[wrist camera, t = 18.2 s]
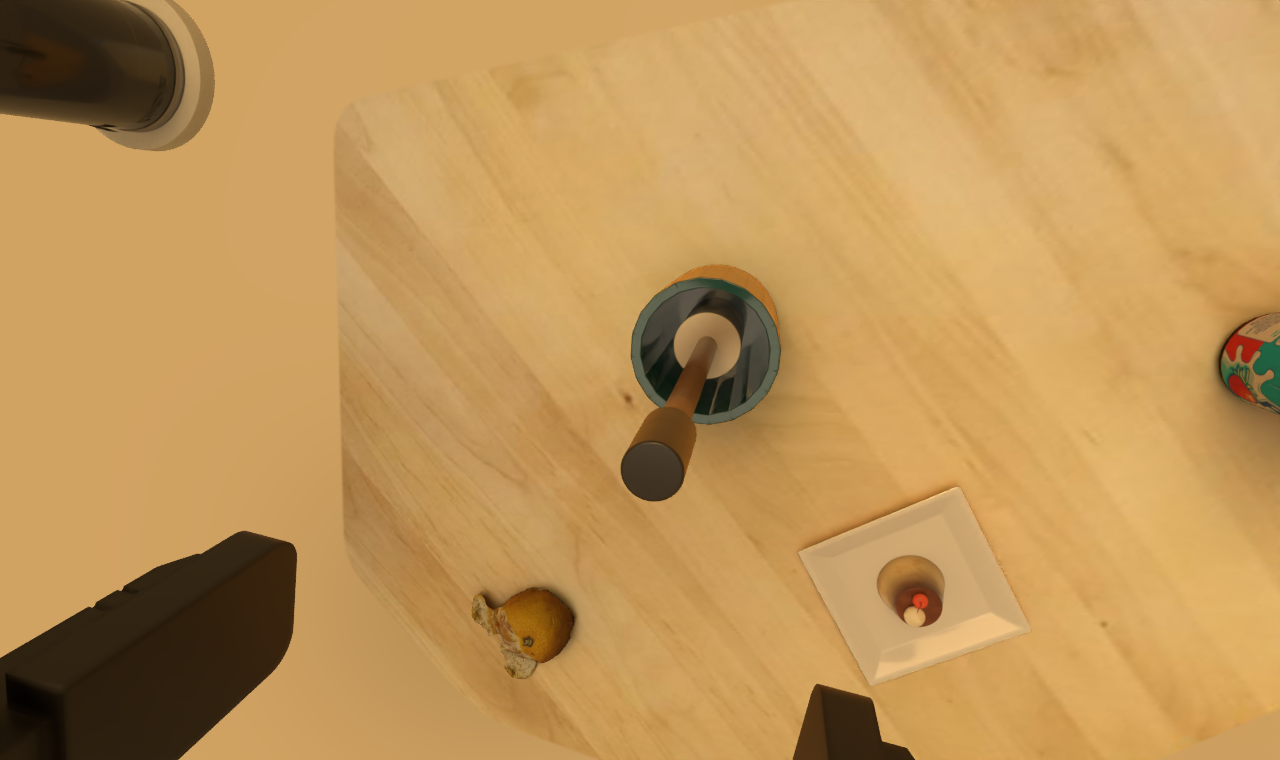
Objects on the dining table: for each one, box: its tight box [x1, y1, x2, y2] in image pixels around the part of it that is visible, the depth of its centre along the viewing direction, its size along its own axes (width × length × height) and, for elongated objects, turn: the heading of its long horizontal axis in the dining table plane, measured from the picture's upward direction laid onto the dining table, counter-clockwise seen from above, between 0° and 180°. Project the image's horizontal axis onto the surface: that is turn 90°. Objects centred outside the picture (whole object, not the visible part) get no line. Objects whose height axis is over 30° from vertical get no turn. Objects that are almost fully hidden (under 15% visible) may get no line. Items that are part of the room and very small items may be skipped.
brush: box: [621, 298, 744, 501], centre depth 35 cm, size 4×4×28 cm
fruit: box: [472, 588, 574, 679], centre depth 56 cm, size 8×8×4 cm
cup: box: [631, 265, 781, 425], centre depth 44 cm, size 8×8×10 cm
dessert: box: [798, 487, 1031, 686], centre depth 49 cm, size 12×12×5 cm
